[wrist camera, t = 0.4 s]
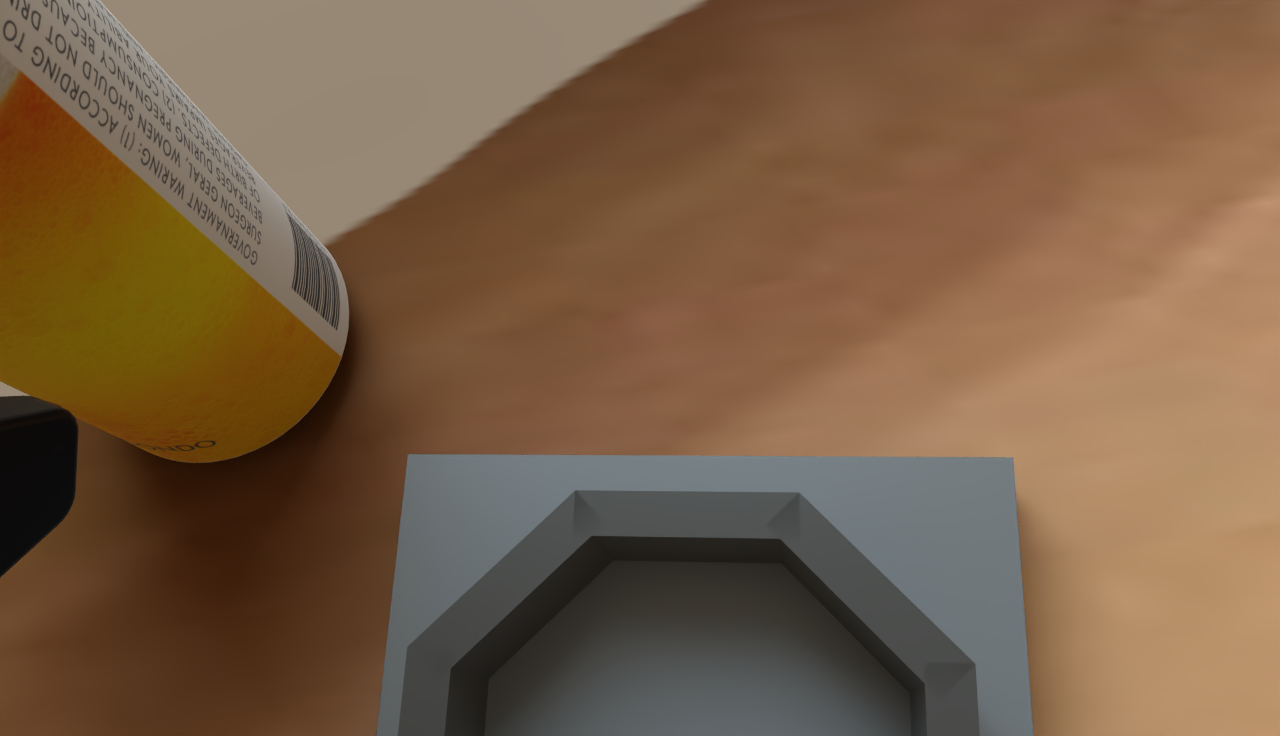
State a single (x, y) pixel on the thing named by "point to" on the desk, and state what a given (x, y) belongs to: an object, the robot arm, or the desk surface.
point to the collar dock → (707, 597)
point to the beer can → (148, 251)
